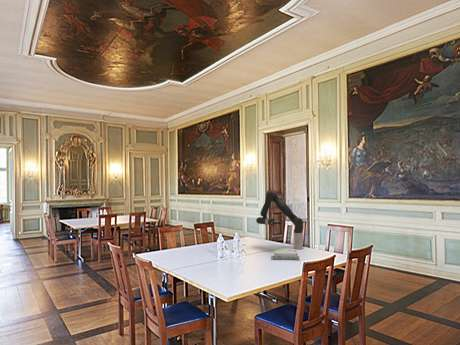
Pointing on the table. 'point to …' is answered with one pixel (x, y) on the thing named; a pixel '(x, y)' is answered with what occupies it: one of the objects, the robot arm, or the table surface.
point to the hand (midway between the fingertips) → (281, 223)
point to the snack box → (285, 254)
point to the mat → (283, 259)
